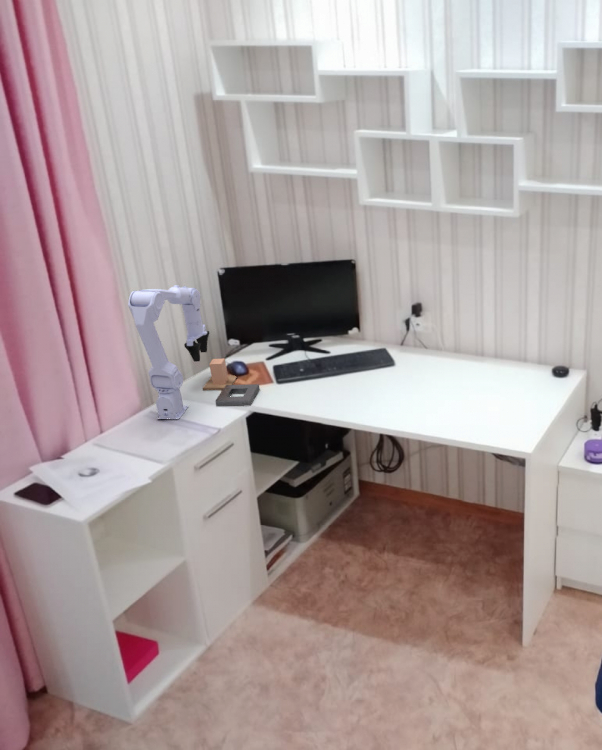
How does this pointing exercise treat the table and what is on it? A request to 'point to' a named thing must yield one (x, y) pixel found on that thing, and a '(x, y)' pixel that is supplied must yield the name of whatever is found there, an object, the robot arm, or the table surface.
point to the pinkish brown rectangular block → (218, 371)
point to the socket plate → (248, 397)
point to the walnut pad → (210, 385)
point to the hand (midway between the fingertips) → (200, 356)
